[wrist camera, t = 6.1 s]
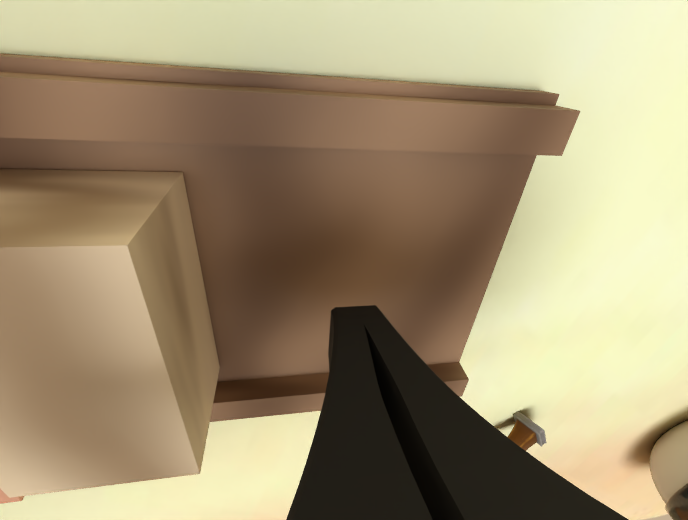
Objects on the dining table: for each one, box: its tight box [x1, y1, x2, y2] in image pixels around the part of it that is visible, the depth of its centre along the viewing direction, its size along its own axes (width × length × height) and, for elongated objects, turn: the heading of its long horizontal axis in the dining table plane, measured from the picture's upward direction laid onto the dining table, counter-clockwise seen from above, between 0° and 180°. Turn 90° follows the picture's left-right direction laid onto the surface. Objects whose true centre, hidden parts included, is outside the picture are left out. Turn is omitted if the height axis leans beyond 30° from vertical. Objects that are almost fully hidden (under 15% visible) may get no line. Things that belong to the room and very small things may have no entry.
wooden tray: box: [0, 54, 580, 504], centre depth 11 cm, size 19×13×4 cm
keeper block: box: [0, 169, 220, 498], centre depth 9 cm, size 5×8×4 cm, turn 176°
